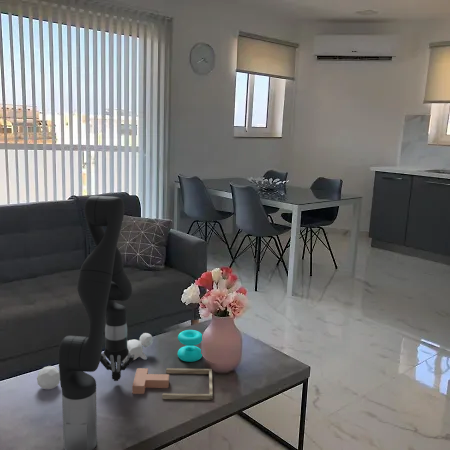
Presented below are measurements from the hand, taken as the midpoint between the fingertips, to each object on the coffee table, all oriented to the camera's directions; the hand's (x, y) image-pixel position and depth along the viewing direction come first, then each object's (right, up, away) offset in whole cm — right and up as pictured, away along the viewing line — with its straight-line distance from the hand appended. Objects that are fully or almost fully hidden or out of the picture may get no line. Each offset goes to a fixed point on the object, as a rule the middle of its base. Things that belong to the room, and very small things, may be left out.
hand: (116, 379), depth 172 cm
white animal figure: (+3, +2, +20) cm, 21 cm away
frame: (+25, -2, +2) cm, 26 cm away
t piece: (+12, -2, +1) cm, 13 cm away
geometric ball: (-22, -2, -4) cm, 23 cm away
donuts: (+24, +2, +22) cm, 33 cm away
